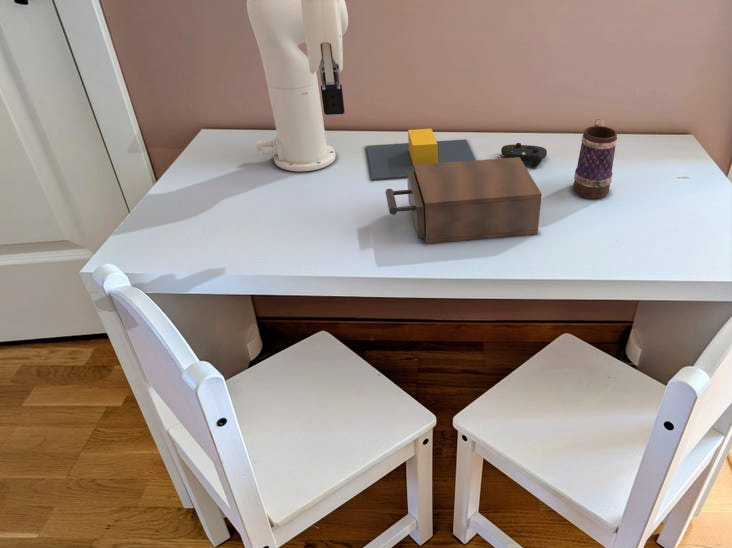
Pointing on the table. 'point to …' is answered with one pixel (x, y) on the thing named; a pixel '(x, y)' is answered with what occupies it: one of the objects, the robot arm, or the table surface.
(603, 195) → the brown purple cylinder
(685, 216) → the table surface
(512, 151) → the game controller
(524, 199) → the cabinet
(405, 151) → the mat
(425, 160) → the sponge
